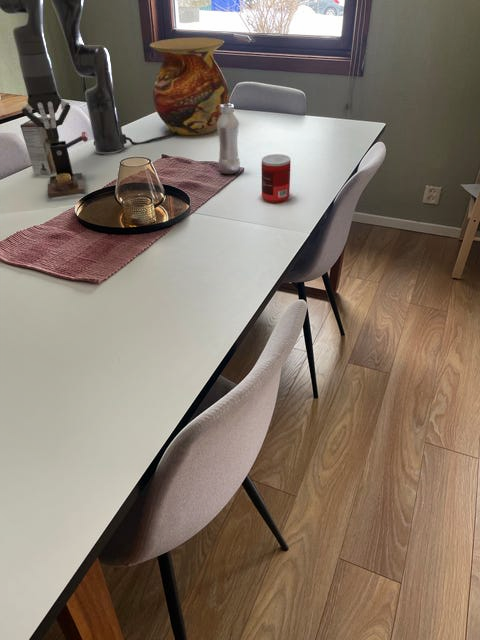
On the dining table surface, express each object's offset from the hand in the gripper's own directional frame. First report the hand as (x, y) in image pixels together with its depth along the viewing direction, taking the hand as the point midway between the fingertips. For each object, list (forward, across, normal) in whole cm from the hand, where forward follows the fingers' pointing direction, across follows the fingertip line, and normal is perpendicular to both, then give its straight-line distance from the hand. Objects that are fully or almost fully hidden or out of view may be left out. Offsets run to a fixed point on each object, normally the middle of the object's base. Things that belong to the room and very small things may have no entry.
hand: (54, 141), depth 138 cm
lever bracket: (+15, 0, +9) cm, 17 cm away
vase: (+15, +50, +52) cm, 73 cm away
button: (+11, 0, 0) cm, 11 cm away
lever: (+5, +4, +9) cm, 11 cm away
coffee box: (+15, -5, +20) cm, 26 cm away
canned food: (+15, +56, -25) cm, 63 cm away
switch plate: (+15, 0, 0) cm, 15 cm away
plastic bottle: (+15, +49, -1) cm, 52 cm away
